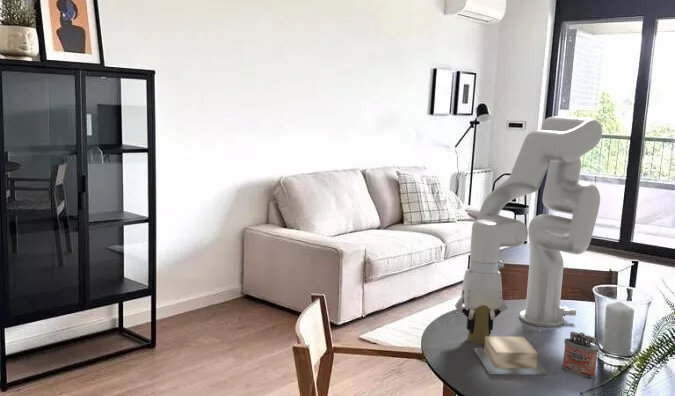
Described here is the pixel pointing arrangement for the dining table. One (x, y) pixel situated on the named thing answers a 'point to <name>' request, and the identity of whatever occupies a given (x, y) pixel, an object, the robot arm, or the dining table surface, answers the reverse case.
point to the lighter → (580, 355)
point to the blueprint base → (509, 356)
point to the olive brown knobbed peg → (480, 325)
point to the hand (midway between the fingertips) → (479, 331)
